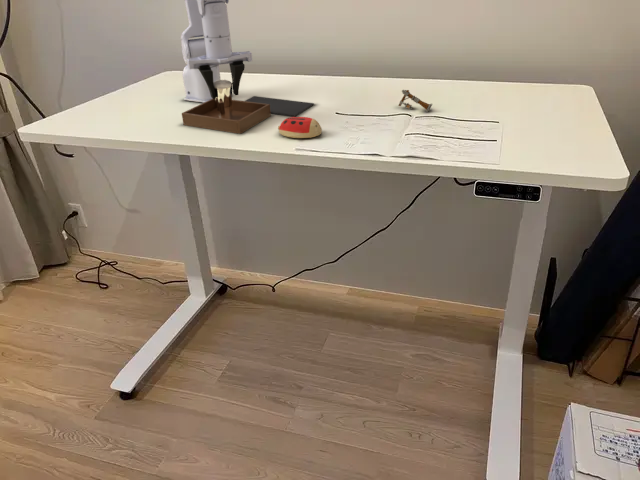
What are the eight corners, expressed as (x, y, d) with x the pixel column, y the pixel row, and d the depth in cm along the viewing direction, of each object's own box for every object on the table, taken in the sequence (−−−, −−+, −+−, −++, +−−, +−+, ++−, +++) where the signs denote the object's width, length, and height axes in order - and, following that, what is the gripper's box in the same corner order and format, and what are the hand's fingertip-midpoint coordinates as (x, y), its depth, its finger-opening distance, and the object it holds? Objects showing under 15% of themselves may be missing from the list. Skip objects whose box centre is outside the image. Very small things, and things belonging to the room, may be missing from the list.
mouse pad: (232, 108, 142) (232, 107, 142) (254, 97, 150) (254, 96, 150) (294, 116, 135) (294, 115, 135) (314, 104, 142) (313, 103, 142)
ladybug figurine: (319, 140, 121) (319, 124, 119) (275, 139, 122) (273, 123, 121) (324, 129, 127) (323, 114, 125) (281, 128, 128) (280, 113, 126)
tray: (183, 125, 133) (181, 113, 131) (216, 108, 143) (214, 97, 141) (240, 133, 126) (239, 121, 125) (270, 115, 136) (269, 104, 135)
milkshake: (235, 122, 132) (230, 79, 127) (213, 121, 133) (208, 78, 128) (241, 116, 136) (237, 74, 131) (220, 115, 137) (215, 73, 132)
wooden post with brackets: (397, 102, 139) (404, 86, 136) (424, 118, 137) (433, 103, 134) (394, 104, 137) (402, 88, 134) (422, 121, 136) (430, 105, 133)
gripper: (187, 42, 119) (197, 105, 126) (253, 34, 123) (259, 95, 130) (181, 36, 125) (191, 97, 132) (244, 29, 129) (250, 88, 136)
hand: (224, 96), depth 131 cm, fingers closed on milkshake, 5 cm apart
